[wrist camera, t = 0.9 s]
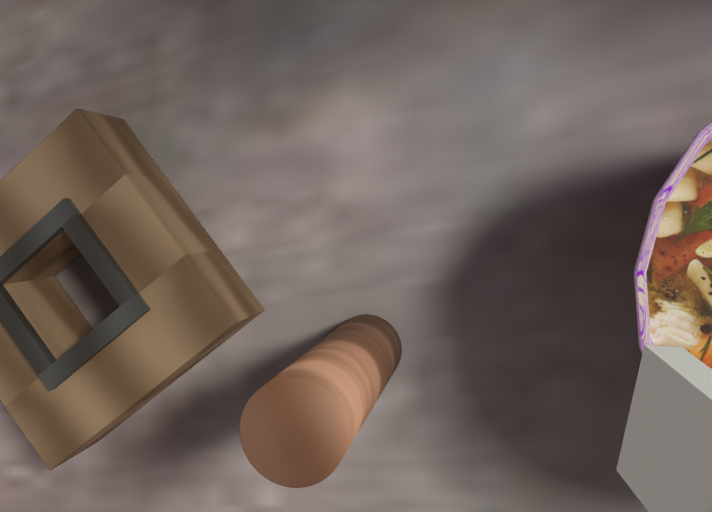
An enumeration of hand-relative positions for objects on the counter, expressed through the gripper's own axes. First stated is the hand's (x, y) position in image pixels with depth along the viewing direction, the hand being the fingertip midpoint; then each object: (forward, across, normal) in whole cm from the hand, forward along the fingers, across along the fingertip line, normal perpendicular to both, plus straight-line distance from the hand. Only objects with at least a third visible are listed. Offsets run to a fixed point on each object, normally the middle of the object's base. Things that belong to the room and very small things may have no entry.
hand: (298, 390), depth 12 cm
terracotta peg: (+27, +5, -11) cm, 30 cm away
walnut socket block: (+33, -13, -10) cm, 37 cm away
